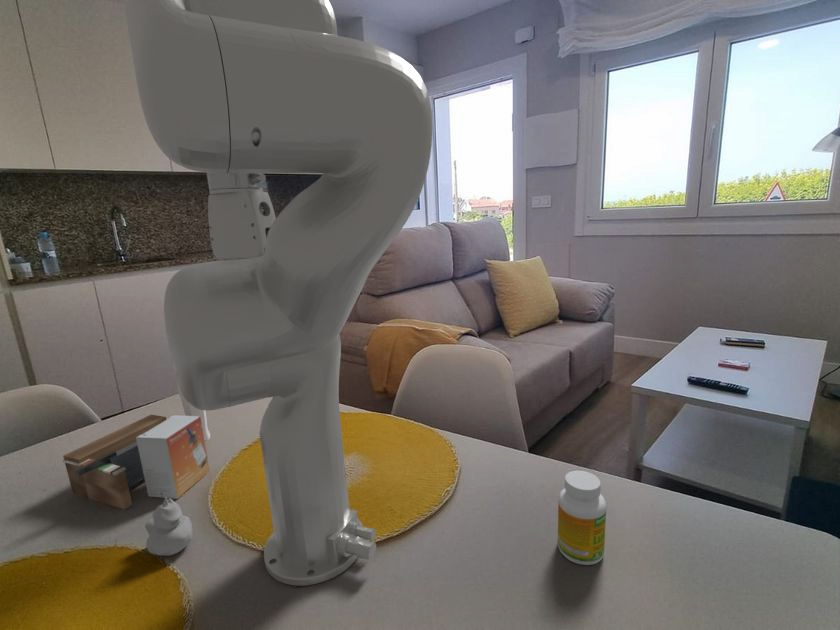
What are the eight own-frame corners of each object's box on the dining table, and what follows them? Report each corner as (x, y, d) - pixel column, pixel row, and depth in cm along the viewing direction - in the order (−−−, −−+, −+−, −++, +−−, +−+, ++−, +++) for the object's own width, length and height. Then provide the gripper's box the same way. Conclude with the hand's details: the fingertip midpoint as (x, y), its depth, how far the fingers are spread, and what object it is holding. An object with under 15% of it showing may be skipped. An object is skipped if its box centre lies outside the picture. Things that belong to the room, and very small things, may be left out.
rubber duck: (173, 568, 54) (161, 512, 52) (134, 558, 56) (121, 504, 54) (206, 538, 59) (196, 486, 57) (169, 529, 61) (159, 479, 59)
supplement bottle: (599, 573, 50) (602, 499, 48) (552, 556, 53) (553, 485, 50) (607, 543, 54) (611, 474, 52) (563, 528, 57) (565, 462, 55)
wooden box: (205, 457, 80) (199, 422, 78) (123, 510, 66) (113, 469, 64) (158, 447, 84) (151, 414, 83) (71, 495, 70) (61, 456, 69)
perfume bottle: (218, 435, 88) (206, 365, 84) (197, 445, 84) (184, 373, 81) (205, 430, 90) (193, 362, 87) (184, 440, 87) (171, 369, 83)
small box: (177, 500, 68) (165, 439, 65) (147, 497, 69) (134, 437, 66) (211, 471, 75) (201, 415, 73) (183, 469, 76) (172, 414, 74)
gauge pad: (183, 454, 79) (177, 421, 78) (89, 510, 64) (79, 472, 63) (173, 451, 80) (166, 419, 79) (77, 507, 65) (67, 468, 64)
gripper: (292, 181, 66) (306, 300, 70) (218, 189, 71) (234, 298, 75) (257, 178, 59) (274, 310, 63) (178, 187, 64) (198, 307, 68)
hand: (252, 303), depth 69 cm, fingers closed
